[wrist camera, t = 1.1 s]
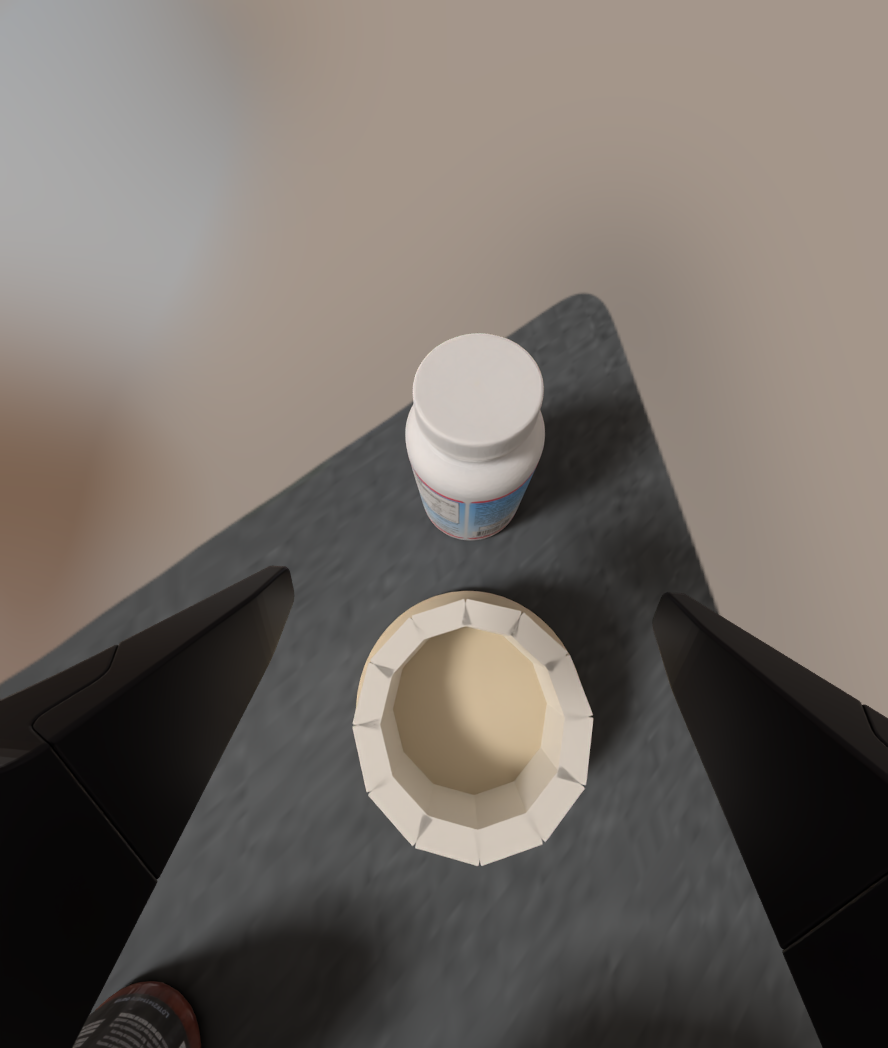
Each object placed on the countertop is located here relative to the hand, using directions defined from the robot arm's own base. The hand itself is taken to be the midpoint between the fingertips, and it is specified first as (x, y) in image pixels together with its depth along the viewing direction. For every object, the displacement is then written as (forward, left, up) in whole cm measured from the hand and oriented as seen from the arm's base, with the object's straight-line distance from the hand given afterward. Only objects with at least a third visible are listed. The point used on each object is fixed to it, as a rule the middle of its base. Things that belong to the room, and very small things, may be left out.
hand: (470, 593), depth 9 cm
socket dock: (-3, -3, -13) cm, 14 cm away
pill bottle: (+6, +5, -14) cm, 16 cm away
